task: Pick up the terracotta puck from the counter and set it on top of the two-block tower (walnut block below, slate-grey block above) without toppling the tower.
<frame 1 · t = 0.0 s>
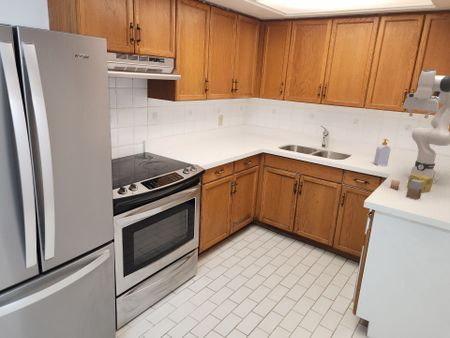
hand: (418, 117, 209), 48 cm above the worktop, fingers open, 8 cm apart
walnut block: (412, 197, 202), on the worktop, touching grey block
soap bottle: (380, 165, 280), on the worktop
grey block: (415, 188, 201), point 6 cm above the worktop, touching walnut block
cheese: (417, 190, 218), on the worktop
terracotta puck: (394, 188, 218), on the worktop
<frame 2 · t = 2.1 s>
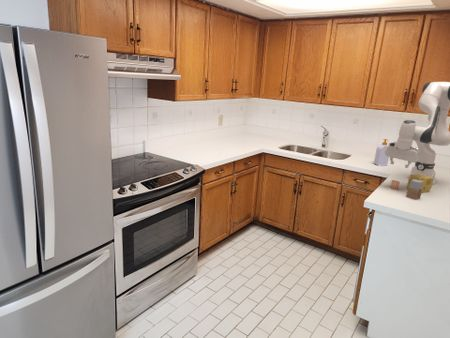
hand: (399, 165, 213), 16 cm above the worktop, fingers open, 8 cm apart
walnut block: (412, 197, 202), on the worktop
grey block: (415, 188, 200), point 6 cm above the worktop
everything else where it was.
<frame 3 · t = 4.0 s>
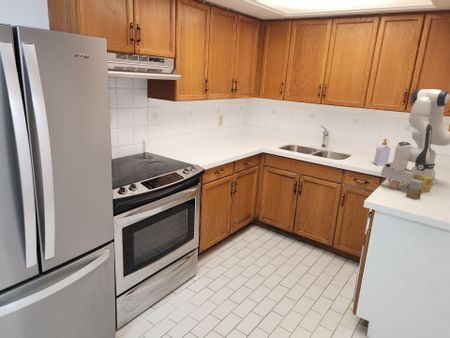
hand: (394, 186, 217), 2 cm above the worktop, fingers closed on terracotta puck, 5 cm apart
walnut block: (412, 197, 202), on the worktop, touching grey block
grey block: (414, 188, 200), point 6 cm above the worktop, touching walnut block
terracotta puck: (394, 188, 218), on the worktop, touching gripper
everything else where it was.
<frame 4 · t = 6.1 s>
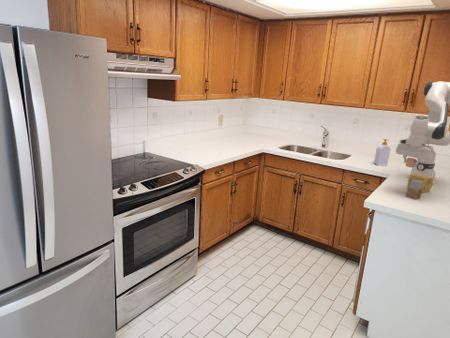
hand: (410, 163, 203), 20 cm above the worktop, fingers closed on terracotta puck, 5 cm apart
terracotta puck: (409, 166, 204), point 18 cm above the worktop, touching gripper
everything else where it was.
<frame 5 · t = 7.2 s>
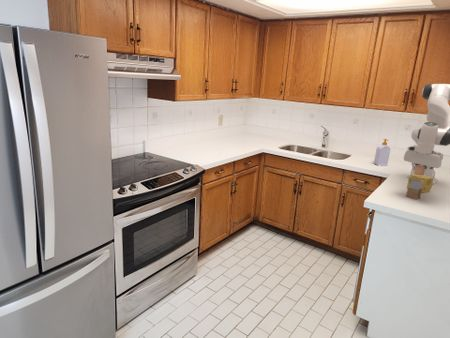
hand: (419, 171, 197), 17 cm above the worktop, fingers closed on terracotta puck, 5 cm apart
terracotta puck: (418, 173, 198), point 15 cm above the worktop, touching gripper
everything else where it was.
when the fingers open (14 cm above the worktop, at t = 8.3 s): terracotta puck drops 1 cm, resting on grey block.
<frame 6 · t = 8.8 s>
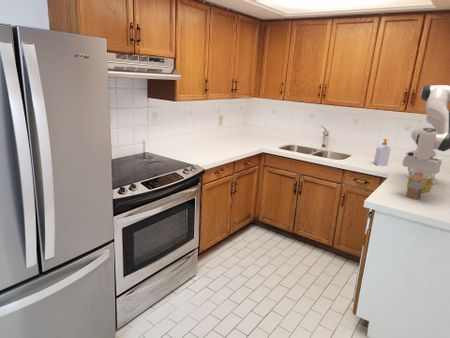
hand: (418, 176, 198), 14 cm above the worktop, fingers open, 8 cm apart
grey block: (415, 188, 200), point 6 cm above the worktop, touching terracotta puck, walnut block
terracotta puck: (416, 180, 199), point 11 cm above the worktop, touching grey block
everything else where it was.
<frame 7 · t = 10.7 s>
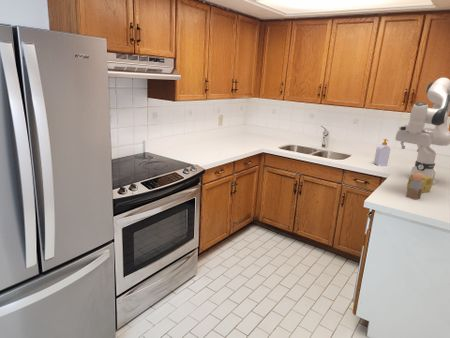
hand: (410, 150, 205), 28 cm above the worktop, fingers open, 8 cm apart
nothing on the worktop moved.
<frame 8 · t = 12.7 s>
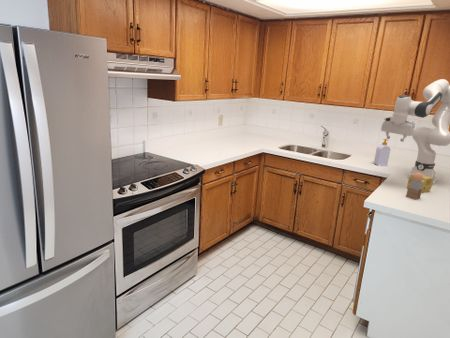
hand: (394, 140, 219), 31 cm above the worktop, fingers open, 8 cm apart
nothing on the worktop moved.
at the end: terracotta puck 0.1 cm off-centre on the grey block, point 5.0 cm above the grey block's base; grey block 0.1 cm off-centre on the walnut block, point 6.0 cm above the walnut block's base; terracotta puck tilted 0° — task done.
